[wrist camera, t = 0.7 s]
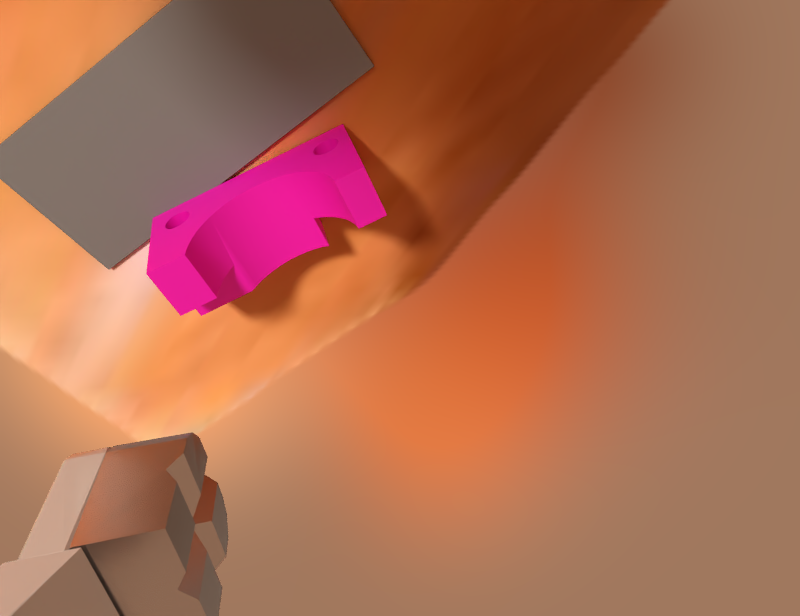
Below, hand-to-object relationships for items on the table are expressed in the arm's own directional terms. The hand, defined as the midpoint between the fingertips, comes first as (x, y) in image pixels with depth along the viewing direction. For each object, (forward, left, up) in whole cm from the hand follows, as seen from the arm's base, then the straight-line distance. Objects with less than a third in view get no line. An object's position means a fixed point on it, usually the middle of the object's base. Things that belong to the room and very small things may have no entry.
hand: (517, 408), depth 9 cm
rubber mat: (+2, -10, -40) cm, 41 cm away
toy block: (+11, -10, -40) cm, 43 cm away
